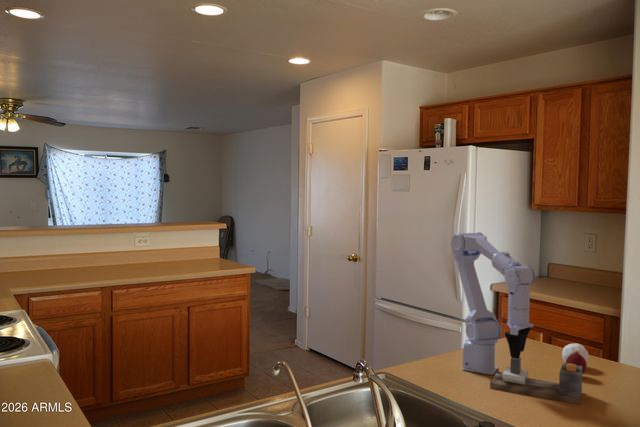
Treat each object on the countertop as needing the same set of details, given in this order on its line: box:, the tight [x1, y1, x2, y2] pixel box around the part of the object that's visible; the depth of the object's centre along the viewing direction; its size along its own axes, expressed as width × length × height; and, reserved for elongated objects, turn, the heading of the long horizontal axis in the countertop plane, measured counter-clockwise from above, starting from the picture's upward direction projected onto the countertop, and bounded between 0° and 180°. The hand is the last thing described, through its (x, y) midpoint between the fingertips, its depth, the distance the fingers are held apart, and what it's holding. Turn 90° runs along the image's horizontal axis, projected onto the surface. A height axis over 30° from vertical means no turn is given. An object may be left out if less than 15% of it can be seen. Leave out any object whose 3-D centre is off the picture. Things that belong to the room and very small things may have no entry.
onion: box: [565, 350, 588, 374], centre depth 163 cm, size 6×6×8 cm
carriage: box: [502, 357, 529, 385], centre depth 154 cm, size 6×7×6 cm
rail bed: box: [489, 362, 583, 405], centre depth 151 cm, size 23×10×8 cm, turn 60°
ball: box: [561, 342, 589, 364], centre depth 173 cm, size 8×8×8 cm
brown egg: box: [565, 363, 577, 372], centre depth 147 cm, size 3×3×4 cm
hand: (517, 354), depth 154 cm, fingers open, 7 cm apart
